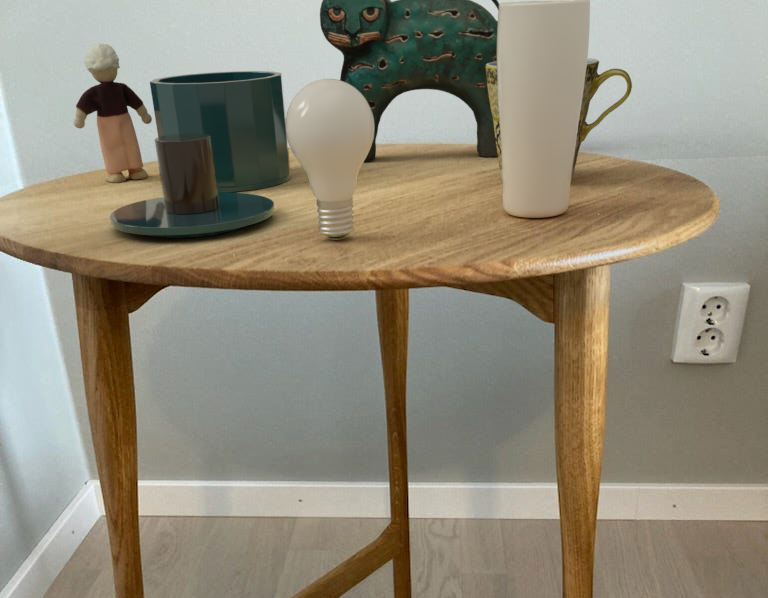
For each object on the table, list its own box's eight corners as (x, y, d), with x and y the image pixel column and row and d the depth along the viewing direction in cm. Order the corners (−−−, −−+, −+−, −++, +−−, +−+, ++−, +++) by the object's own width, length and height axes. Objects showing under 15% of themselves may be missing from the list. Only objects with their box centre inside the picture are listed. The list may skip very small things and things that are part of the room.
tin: (142, 191, 89) (125, 84, 84) (204, 168, 99) (191, 72, 94) (257, 194, 85) (245, 83, 81) (309, 170, 95) (301, 70, 91)
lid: (78, 239, 72) (60, 150, 69) (166, 204, 83) (153, 125, 80) (229, 247, 68) (218, 152, 65) (300, 208, 79) (293, 125, 76)
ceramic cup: (472, 188, 84) (473, 67, 79) (496, 168, 92) (499, 58, 87) (617, 192, 80) (628, 65, 75) (629, 171, 88) (639, 55, 83)
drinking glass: (589, 206, 75) (604, -2, 68) (559, 224, 70) (571, 1, 63) (513, 201, 78) (519, 1, 71) (479, 218, 73) (482, 4, 66)
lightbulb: (388, 230, 71) (383, 73, 65) (365, 250, 66) (357, 82, 60) (311, 228, 73) (299, 75, 67) (282, 248, 67) (267, 84, 62)
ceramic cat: (328, 165, 98) (313, -55, 88) (333, 155, 103) (320, -52, 93) (515, 158, 97) (521, -65, 87) (510, 148, 102) (515, -62, 92)
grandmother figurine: (147, 171, 99) (125, 40, 92) (164, 175, 96) (143, 40, 90) (80, 182, 95) (52, 46, 88) (95, 187, 92) (68, 46, 86)
